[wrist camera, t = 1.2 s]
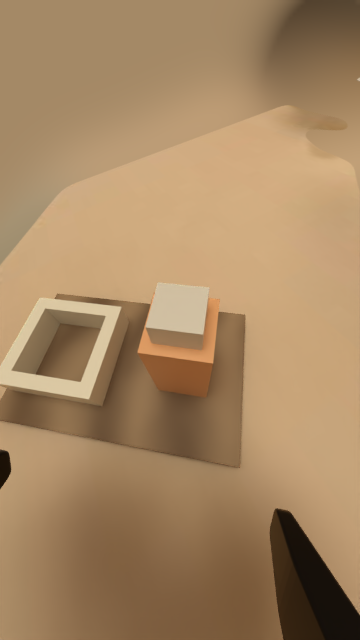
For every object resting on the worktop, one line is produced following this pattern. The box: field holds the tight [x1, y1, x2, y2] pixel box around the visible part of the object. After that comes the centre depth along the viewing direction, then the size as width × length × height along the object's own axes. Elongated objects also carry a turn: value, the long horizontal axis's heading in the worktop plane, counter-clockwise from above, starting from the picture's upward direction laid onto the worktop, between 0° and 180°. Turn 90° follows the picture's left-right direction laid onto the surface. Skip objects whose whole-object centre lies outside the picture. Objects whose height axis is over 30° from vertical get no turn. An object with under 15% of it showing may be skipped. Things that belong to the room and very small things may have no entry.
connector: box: [137, 282, 220, 398], centre depth 17 cm, size 4×4×11 cm
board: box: [0, 294, 245, 468], centre depth 23 cm, size 22×14×1 cm, turn 80°
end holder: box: [0, 297, 129, 406], centre depth 22 cm, size 9×9×3 cm
